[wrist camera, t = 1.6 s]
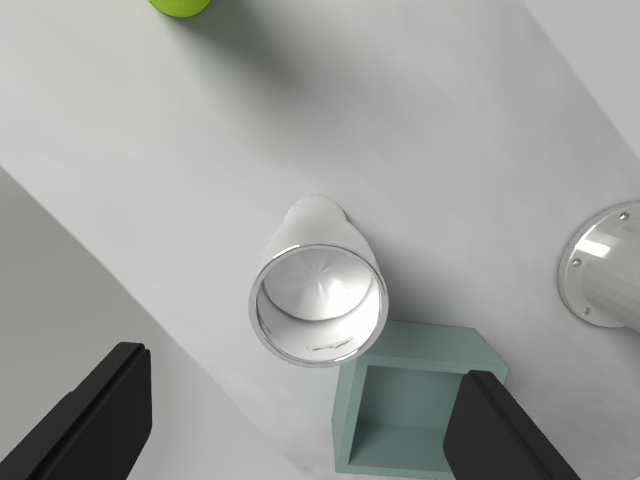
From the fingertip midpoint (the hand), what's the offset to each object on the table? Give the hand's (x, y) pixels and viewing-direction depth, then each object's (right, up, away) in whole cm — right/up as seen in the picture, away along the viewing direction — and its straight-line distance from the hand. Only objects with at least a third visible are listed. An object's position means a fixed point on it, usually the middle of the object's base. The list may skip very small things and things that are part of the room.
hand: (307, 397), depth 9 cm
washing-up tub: (+9, -10, +24) cm, 28 cm away
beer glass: (0, +6, +20) cm, 21 cm away
